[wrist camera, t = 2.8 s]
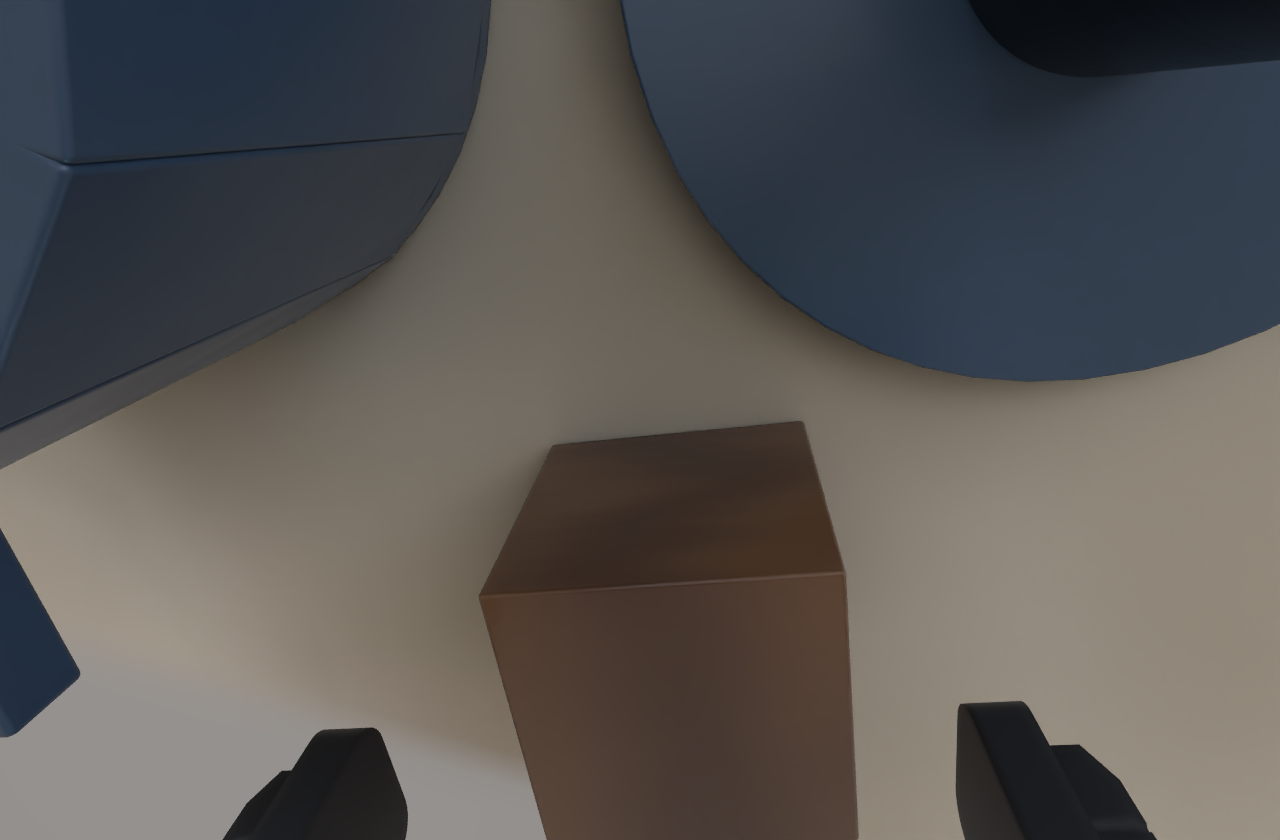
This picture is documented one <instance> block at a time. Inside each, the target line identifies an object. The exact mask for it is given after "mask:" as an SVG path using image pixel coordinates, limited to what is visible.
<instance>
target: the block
mask: <svg viewBox="0 0 1280 840" xmlns="http://www.w3.org/2000/svg"><path fill="white" fill-rule="evenodd" d="M479 600H480V604H481V607H482V611H483V614H484V618H485V621H486V625H487V629H488V632H489V636H490V639H491V643H492V646H493V650H494V654H495V657H496V661H497V664H498V668H499V671H500V675H501V678H502V682H503V686H504V689H505V693H506V696H507V700H508V703H509V707H510V710H511V714H512V718H513V721H514V725H515V728H516V732H517V735H518V739H519V743H520V746H521V750H522V753H523V757H524V760H525V764H526V767H527V771H528V775H529V778H530V782H531V785H532V789H533V792H534V796H535V799H536V803H537V807H538V810H539V814H540V817H541V821H542V824H543V828H544V831H545V835H546V839H547V840H858V837H859V833H858V812H857V791H856V771H855V750H854V729H853V709H852V688H851V667H850V647H849V626H848V605H847V585H846V572H845V568H844V564H843V561H842V557H841V554H840V550H839V547H838V543H837V539H836V536H835V532H834V529H833V525H832V521H831V518H830V514H829V511H828V507H827V504H826V500H825V496H824V493H823V489H822V486H821V482H820V479H819V475H818V471H817V468H816V464H815V461H814V457H813V454H812V450H811V446H810V443H809V439H808V436H807V432H806V429H805V425H804V423H803V422H790V423H780V424H769V425H759V426H749V427H738V428H728V429H718V430H707V431H697V432H686V433H676V434H666V435H655V436H645V437H635V438H624V439H614V440H603V441H593V442H583V443H572V444H562V445H554V446H552V448H551V450H550V452H549V454H548V456H547V458H546V460H545V462H544V464H543V466H542V468H541V470H540V473H539V475H538V477H537V479H536V481H535V483H534V485H533V487H532V489H531V491H530V493H529V495H528V497H527V499H526V501H525V503H524V505H523V507H522V509H521V511H520V513H519V515H518V517H517V519H516V521H515V523H514V525H513V527H512V529H511V531H510V533H509V535H508V537H507V539H506V541H505V544H504V546H503V548H502V550H501V552H500V554H499V556H498V558H497V560H496V562H495V564H494V566H493V568H492V570H491V572H490V574H489V576H488V578H487V580H486V582H485V584H484V586H483V588H482V590H481V592H480V594H479Z"/></svg>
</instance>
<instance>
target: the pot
mask: <svg viewBox="0 0 1280 840" xmlns="http://www.w3.org/2000/svg"><path fill="white" fill-rule="evenodd" d="M490 6H491V0H0V469H1V468H3V467H6V466H8V465H10V464H12V463H14V462H16V461H18V460H20V459H22V458H24V457H26V456H28V455H30V454H32V453H34V452H36V451H38V450H40V449H42V448H44V447H46V446H48V445H50V444H52V443H54V442H56V441H58V440H60V439H62V438H64V437H66V436H68V435H70V434H72V433H74V432H76V431H78V430H80V429H82V428H84V427H86V426H88V425H90V424H92V423H94V422H96V421H98V420H100V419H102V418H104V417H106V416H108V415H110V414H112V413H114V412H116V411H118V410H120V409H122V408H124V407H126V406H128V405H130V404H132V403H134V402H136V401H138V400H140V399H142V398H144V397H146V396H148V395H150V394H152V393H154V392H156V391H158V390H160V389H162V388H164V387H166V386H168V385H170V384H172V383H174V382H176V381H178V380H180V379H182V378H184V377H186V376H188V375H190V374H192V373H194V372H196V371H198V370H200V369H202V368H204V367H206V366H208V365H210V364H212V363H214V362H216V361H218V360H220V359H222V358H225V357H227V356H229V355H231V354H233V353H235V352H237V351H239V350H241V349H243V348H245V347H247V346H249V345H251V344H253V343H255V342H257V341H259V340H261V339H263V338H265V337H267V336H269V335H271V334H273V333H275V332H277V331H279V330H281V329H283V328H285V327H287V326H289V325H291V324H293V323H295V322H297V321H298V320H300V319H301V318H303V317H304V316H306V315H307V314H309V313H310V312H312V311H313V310H315V309H316V308H318V307H319V306H321V305H322V304H324V303H325V302H327V301H328V300H330V299H331V298H333V297H334V296H336V295H338V294H340V293H342V292H343V291H345V290H347V289H349V288H351V287H352V286H354V285H356V284H357V283H358V282H360V281H361V280H362V279H363V278H365V277H366V276H367V275H369V274H370V273H371V272H372V271H374V270H375V269H376V268H378V267H379V266H381V265H382V264H384V263H385V262H387V261H388V260H390V259H391V258H392V256H393V255H394V254H395V253H397V251H398V249H399V248H400V246H401V244H402V243H403V242H404V241H405V240H406V239H407V238H408V237H409V236H410V235H411V234H412V233H413V231H414V230H415V229H416V228H417V226H418V225H419V223H420V222H421V220H422V219H423V217H424V216H425V214H426V213H427V212H428V210H429V209H430V207H431V206H432V204H433V203H434V201H435V200H436V199H437V197H438V196H439V194H440V192H441V190H442V188H443V186H444V184H445V182H446V180H447V178H448V176H449V174H450V172H451V170H452V168H453V166H454V164H455V162H456V160H457V158H458V156H459V154H460V151H461V148H462V145H463V142H464V139H465V136H466V134H467V131H468V128H469V125H470V122H471V119H472V116H473V113H474V110H475V107H476V103H477V98H478V93H479V88H480V83H481V78H482V73H483V68H484V64H485V59H486V54H487V42H488V30H489V18H490ZM79 676H80V670H79V668H78V667H77V665H76V663H75V661H74V659H73V658H72V656H71V654H70V652H69V651H68V649H67V647H66V645H65V643H64V642H63V640H62V638H61V636H60V634H59V633H58V631H57V629H56V627H55V625H54V624H53V622H52V620H51V618H50V617H49V615H48V613H47V611H46V609H45V608H44V606H43V604H42V602H41V600H40V599H39V597H38V595H37V593H36V591H35V590H34V588H33V586H32V584H31V583H30V581H29V579H28V577H27V575H26V574H25V572H24V570H23V568H22V566H21V565H20V563H19V561H18V559H17V557H16V556H15V554H14V552H13V550H12V549H11V547H10V545H9V543H8V541H7V540H6V538H5V536H4V534H3V532H2V531H1V529H0V737H9V736H12V735H14V734H16V733H17V732H18V731H20V730H21V729H22V728H23V727H24V726H25V725H27V724H28V723H29V722H30V721H31V720H32V719H33V718H34V717H36V716H37V715H38V714H39V713H40V712H41V711H42V710H43V709H44V708H46V707H47V706H48V705H49V704H50V703H51V702H52V701H54V700H55V699H56V698H57V697H58V696H59V695H60V694H62V692H64V691H65V690H66V689H67V688H68V687H69V686H70V685H72V684H73V683H74V682H75V681H76V680H77V679H78V678H79Z"/></svg>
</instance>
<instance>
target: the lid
mask: <svg viewBox="0 0 1280 840" xmlns="http://www.w3.org/2000/svg"><path fill="white" fill-rule="evenodd" d="M620 5H621V10H622V15H623V20H624V25H625V30H626V35H627V40H628V45H629V50H630V56H631V59H632V62H633V65H634V68H635V71H636V74H637V77H638V80H639V83H640V86H641V89H642V93H643V96H644V99H645V102H646V105H647V108H648V111H649V114H650V117H651V119H652V121H653V123H654V126H655V128H656V130H657V132H658V134H659V136H660V138H661V141H662V143H663V145H664V147H665V149H666V151H667V153H668V155H669V158H670V160H671V162H672V164H673V166H674V168H675V170H676V172H677V174H678V175H679V177H680V179H681V180H682V182H683V183H684V185H685V186H686V188H687V190H688V191H689V193H690V194H691V196H692V197H693V199H694V201H695V202H696V204H697V205H698V207H699V208H700V210H701V212H702V213H703V215H704V216H705V218H706V219H707V221H708V222H709V223H710V224H711V225H712V227H713V228H714V229H715V230H716V231H717V233H718V234H719V235H720V236H721V237H722V239H723V240H724V241H725V242H726V243H727V244H728V246H729V247H730V248H731V249H732V250H733V252H734V253H735V254H736V255H737V256H738V258H739V259H740V260H741V261H742V262H743V263H744V264H745V265H746V266H747V267H748V268H750V269H751V270H752V271H753V272H754V273H755V274H756V275H757V276H758V277H759V278H761V279H762V280H763V281H764V282H765V283H766V284H767V285H768V286H769V287H771V288H772V289H773V290H774V291H775V292H776V293H777V294H778V295H779V296H780V297H782V298H783V299H784V300H786V301H787V302H789V303H790V304H792V305H793V306H795V307H796V308H798V309H799V310H801V311H802V312H804V313H805V314H806V315H808V316H809V317H811V318H812V319H814V320H815V321H817V322H818V323H820V324H821V325H823V326H824V327H826V328H828V329H830V330H832V331H834V332H836V333H838V334H840V335H842V336H844V337H846V338H848V339H850V340H852V341H854V342H856V343H858V344H860V345H862V346H864V347H866V348H868V349H870V350H872V351H875V352H878V353H881V354H884V355H887V356H890V357H893V358H896V359H899V360H902V361H905V362H908V363H910V364H913V365H916V366H919V367H923V368H928V369H933V370H938V371H943V372H948V373H953V374H958V375H963V376H968V377H973V378H986V379H999V380H1012V381H1025V382H1031V381H1054V380H1078V379H1089V378H1096V377H1102V376H1109V375H1115V374H1121V373H1128V372H1134V371H1141V370H1146V369H1149V368H1153V367H1157V366H1161V365H1164V364H1168V363H1172V362H1176V361H1179V360H1183V359H1187V358H1191V357H1194V356H1198V355H1202V354H1205V353H1208V352H1211V351H1213V350H1216V349H1218V348H1221V347H1224V346H1226V345H1229V344H1232V343H1234V342H1237V341H1240V340H1242V339H1245V338H1248V337H1250V336H1253V335H1256V334H1258V333H1261V332H1263V331H1266V330H1268V329H1270V328H1272V327H1274V326H1276V325H1278V324H1280V0H620Z"/></svg>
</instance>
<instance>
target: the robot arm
mask: <svg viewBox="0 0 1280 840" xmlns="http://www.w3.org/2000/svg"><path fill="white" fill-rule="evenodd" d="M956 798H957V806H958V812H959V817H960V822H961V826H962V830H963V834H964V837H965V840H1157V839H1156V838H1155V836H1154V835H1153V833H1152V832H1149V831H1148V829H1147V823H1146V822H1145V820H1144V818H1143V817H1142V815H1141V814H1140V812H1139V810H1138V809H1137V807H1136V805H1135V804H1134V802H1133V801H1132V799H1131V797H1130V796H1129V794H1128V792H1127V791H1126V789H1125V788H1124V786H1123V784H1122V783H1121V781H1120V780H1119V779H1118V778H1117V777H1116V776H1115V775H1113V774H1112V773H1111V772H1110V771H1109V770H1108V769H1107V768H1105V767H1104V766H1103V765H1102V764H1101V763H1100V762H1099V761H1097V760H1096V759H1095V758H1094V757H1093V756H1092V755H1091V754H1089V753H1088V752H1087V751H1086V750H1085V749H1084V748H1083V747H1081V746H1080V745H1052V746H1050V745H1049V744H1048V742H1047V740H1046V738H1045V736H1044V734H1043V732H1042V731H1041V729H1040V727H1039V725H1038V723H1037V721H1036V719H1035V718H1034V716H1033V714H1032V712H1031V711H1030V709H1029V708H1028V706H1027V705H1026V704H1025V703H1024V702H1022V701H1012V702H989V703H966V704H960V706H959V708H958V719H957V757H956ZM407 822H408V812H407V804H406V800H405V798H404V795H403V792H402V789H401V787H400V784H399V781H398V778H397V776H396V773H395V770H394V768H393V765H392V762H391V760H390V757H389V754H388V751H387V749H386V746H385V743H384V741H383V738H382V736H381V734H380V732H379V731H378V730H377V729H375V728H352V729H329V730H322V731H320V732H318V733H317V734H316V735H315V736H314V737H313V738H312V740H311V741H310V742H309V744H308V746H307V747H306V749H305V750H304V752H303V753H302V755H301V757H300V758H299V760H298V761H297V763H296V764H295V766H294V768H293V769H292V771H281V772H280V773H279V774H278V775H277V776H276V777H275V778H274V779H272V780H271V781H270V782H269V783H268V784H267V785H266V786H265V787H264V788H263V789H262V790H261V791H260V792H259V793H257V794H256V795H255V796H254V797H253V798H252V799H251V800H250V801H249V802H248V803H247V804H246V806H245V807H244V808H243V810H242V811H241V813H240V814H239V816H238V817H237V819H236V820H235V822H234V823H233V825H232V826H231V828H230V829H229V831H228V832H227V834H226V835H225V837H224V839H223V840H405V838H406V832H407Z"/></svg>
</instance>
